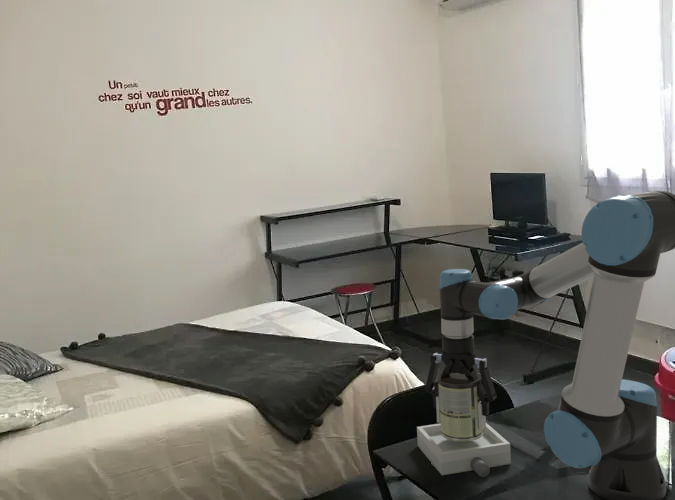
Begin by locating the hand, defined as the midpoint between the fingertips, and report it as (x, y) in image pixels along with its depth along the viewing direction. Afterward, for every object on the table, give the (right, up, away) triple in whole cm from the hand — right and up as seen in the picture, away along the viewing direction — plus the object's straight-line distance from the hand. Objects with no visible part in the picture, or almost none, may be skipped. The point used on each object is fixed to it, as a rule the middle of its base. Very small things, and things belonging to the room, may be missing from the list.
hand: (461, 424), depth 167 cm
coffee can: (0, -2, 0) cm, 3 cm away
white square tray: (+1, -8, -1) cm, 8 cm away
